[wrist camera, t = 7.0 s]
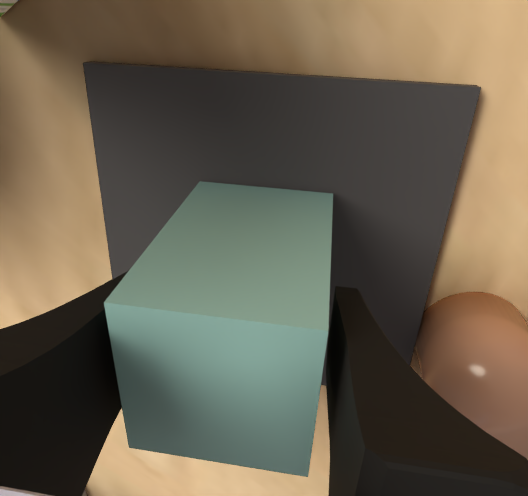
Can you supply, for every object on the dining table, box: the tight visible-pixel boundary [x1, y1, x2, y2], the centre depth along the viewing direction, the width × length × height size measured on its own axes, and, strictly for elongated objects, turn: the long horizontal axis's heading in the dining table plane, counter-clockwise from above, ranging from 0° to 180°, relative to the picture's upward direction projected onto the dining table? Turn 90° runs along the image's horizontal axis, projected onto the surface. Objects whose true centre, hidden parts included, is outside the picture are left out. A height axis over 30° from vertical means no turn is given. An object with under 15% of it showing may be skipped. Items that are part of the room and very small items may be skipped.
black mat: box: [83, 62, 481, 385], centre depth 16 cm, size 12×12×1 cm
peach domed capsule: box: [415, 292, 528, 459], centre depth 15 cm, size 4×4×4 cm
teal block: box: [104, 181, 333, 477], centre depth 13 cm, size 4×4×7 cm
